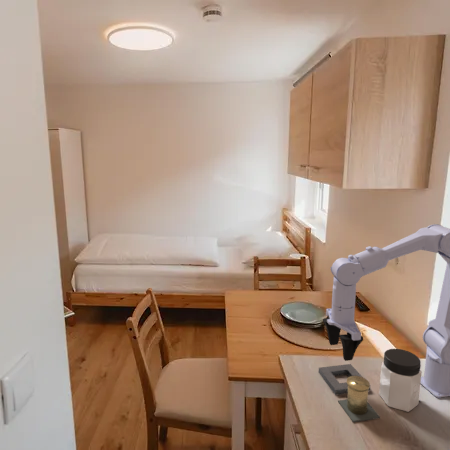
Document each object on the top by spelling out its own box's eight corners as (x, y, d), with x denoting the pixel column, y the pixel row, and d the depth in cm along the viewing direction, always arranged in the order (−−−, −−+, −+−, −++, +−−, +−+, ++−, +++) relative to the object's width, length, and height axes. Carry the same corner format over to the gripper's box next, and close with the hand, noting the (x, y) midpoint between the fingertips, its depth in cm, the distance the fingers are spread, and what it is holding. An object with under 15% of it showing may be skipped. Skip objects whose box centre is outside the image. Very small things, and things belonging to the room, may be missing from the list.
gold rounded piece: (359, 399, 87) (360, 374, 85) (373, 413, 82) (374, 387, 80) (341, 403, 86) (342, 377, 84) (354, 417, 81) (355, 390, 79)
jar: (404, 416, 81) (408, 371, 79) (373, 397, 88) (376, 355, 86) (423, 402, 86) (428, 359, 84) (392, 385, 93) (396, 344, 91)
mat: (363, 398, 88) (363, 397, 88) (379, 418, 81) (380, 416, 81) (338, 401, 86) (338, 400, 86) (352, 422, 80) (352, 420, 80)
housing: (350, 368, 100) (350, 363, 100) (370, 390, 91) (370, 385, 90) (318, 372, 99) (318, 367, 98) (335, 395, 89) (335, 390, 89)
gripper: (316, 294, 95) (314, 339, 98) (343, 317, 81) (340, 369, 84) (340, 292, 96) (337, 337, 99) (370, 315, 82) (366, 365, 85)
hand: (340, 351), depth 91 cm, fingers open, 7 cm apart
